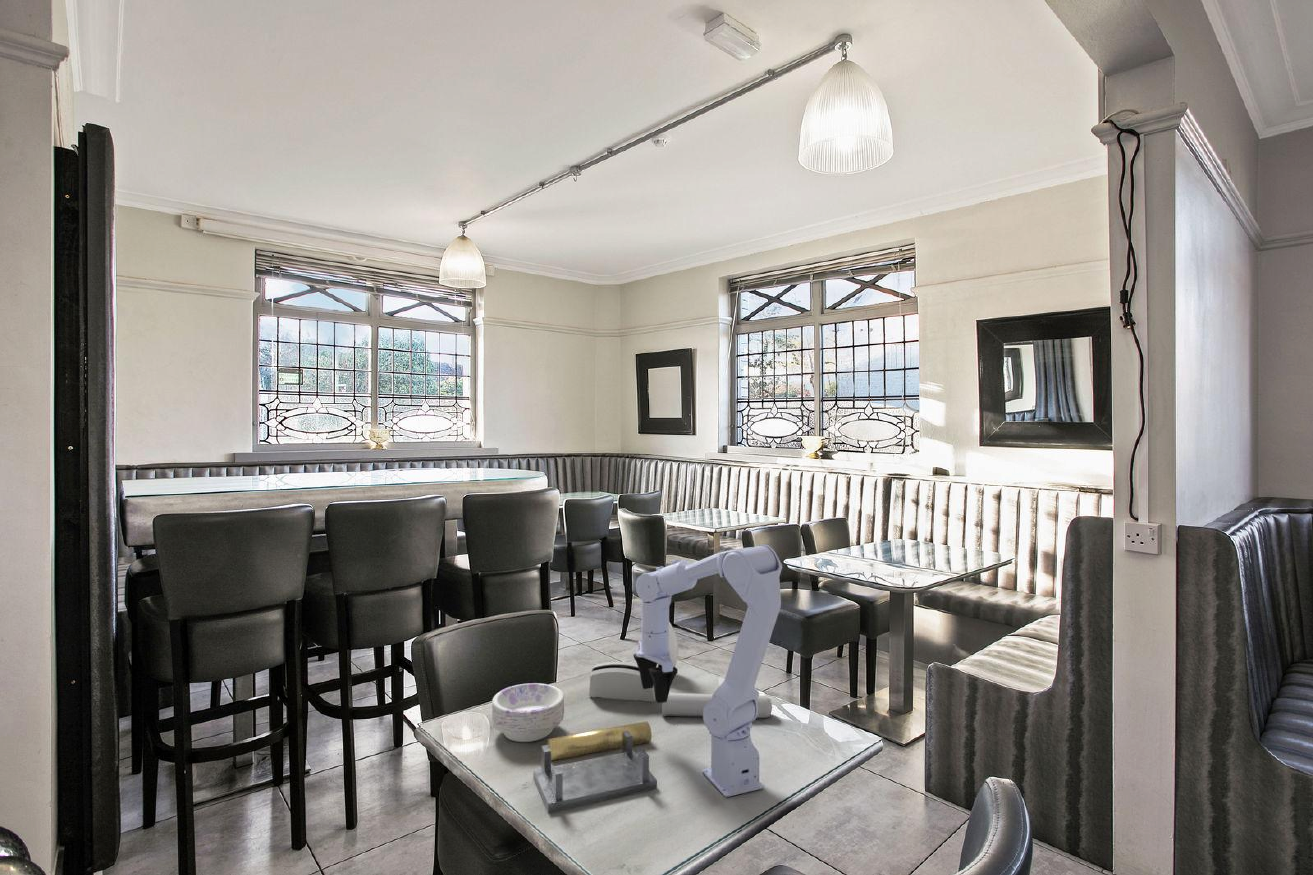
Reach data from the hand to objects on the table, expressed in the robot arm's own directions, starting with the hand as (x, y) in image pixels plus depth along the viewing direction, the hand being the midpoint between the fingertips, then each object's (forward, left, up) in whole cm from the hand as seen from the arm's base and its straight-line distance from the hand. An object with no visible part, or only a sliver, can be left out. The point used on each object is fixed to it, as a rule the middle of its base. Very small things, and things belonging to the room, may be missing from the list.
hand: (654, 694), depth 137 cm
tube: (+7, -19, -11) cm, 23 cm away
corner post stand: (-10, +16, -10) cm, 22 cm away
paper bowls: (+15, +23, -11) cm, 29 cm away
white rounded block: (+25, -2, -11) cm, 27 cm away
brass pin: (+2, +11, -11) cm, 15 cm away
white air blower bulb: (+35, -17, -10) cm, 40 cm away
